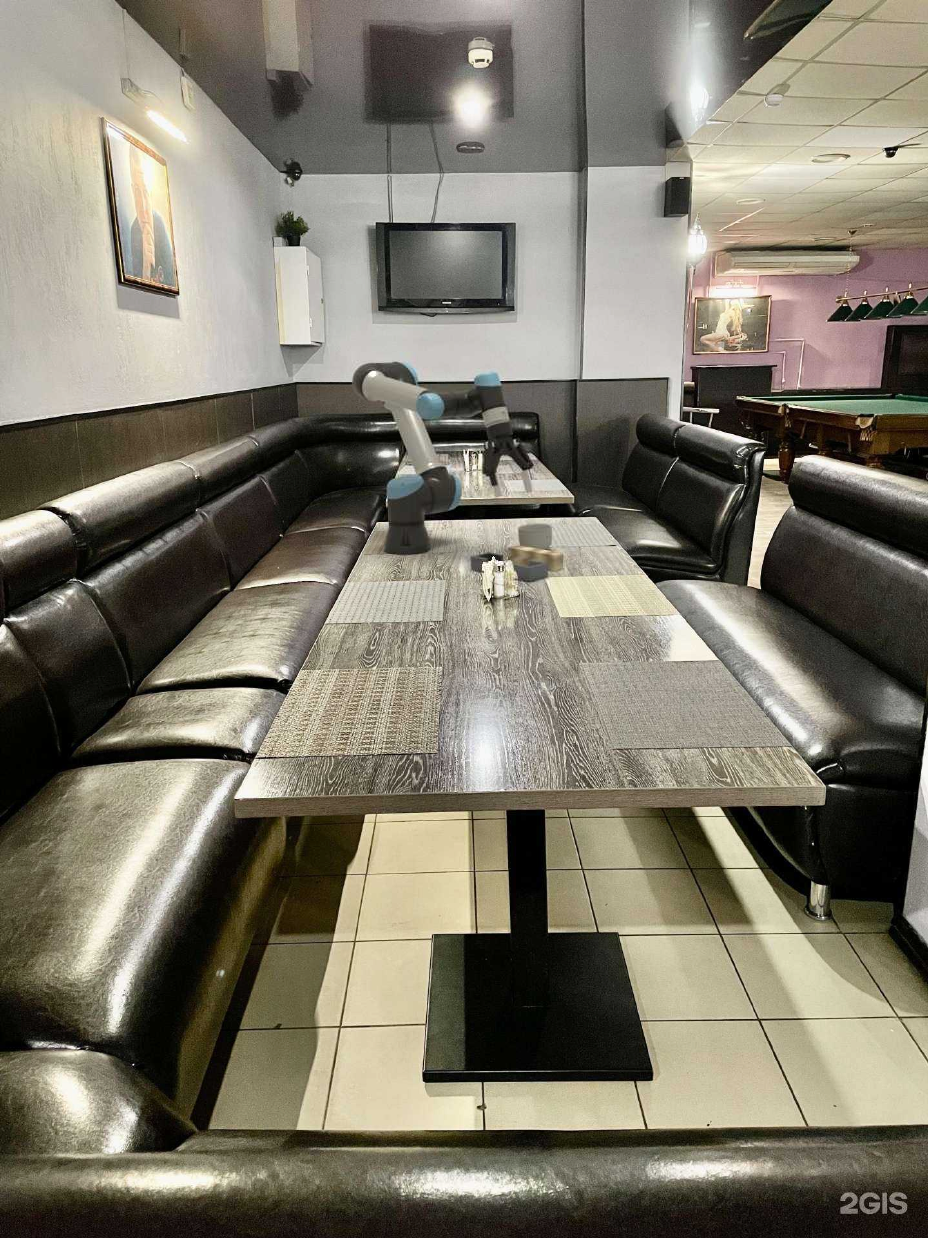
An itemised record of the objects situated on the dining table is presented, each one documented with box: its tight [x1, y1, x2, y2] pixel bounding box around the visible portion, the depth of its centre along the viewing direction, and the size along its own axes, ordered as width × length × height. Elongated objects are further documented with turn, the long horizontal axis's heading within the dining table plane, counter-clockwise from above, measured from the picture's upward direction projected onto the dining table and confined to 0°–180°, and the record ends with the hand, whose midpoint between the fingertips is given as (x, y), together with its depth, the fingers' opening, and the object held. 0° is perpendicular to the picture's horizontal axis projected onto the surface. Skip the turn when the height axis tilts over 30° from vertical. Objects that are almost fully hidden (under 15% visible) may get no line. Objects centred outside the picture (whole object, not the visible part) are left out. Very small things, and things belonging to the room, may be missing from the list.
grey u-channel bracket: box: [470, 551, 504, 573], centre depth 255 cm, size 6×8×4 cm
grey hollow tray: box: [513, 560, 549, 583], centre depth 243 cm, size 6×8×4 cm
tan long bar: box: [507, 544, 564, 572], centre depth 258 cm, size 18×4×5 cm, turn 45°
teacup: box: [517, 522, 553, 550], centre depth 279 cm, size 14×11×8 cm
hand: (515, 494), depth 261 cm, fingers open, 13 cm apart
